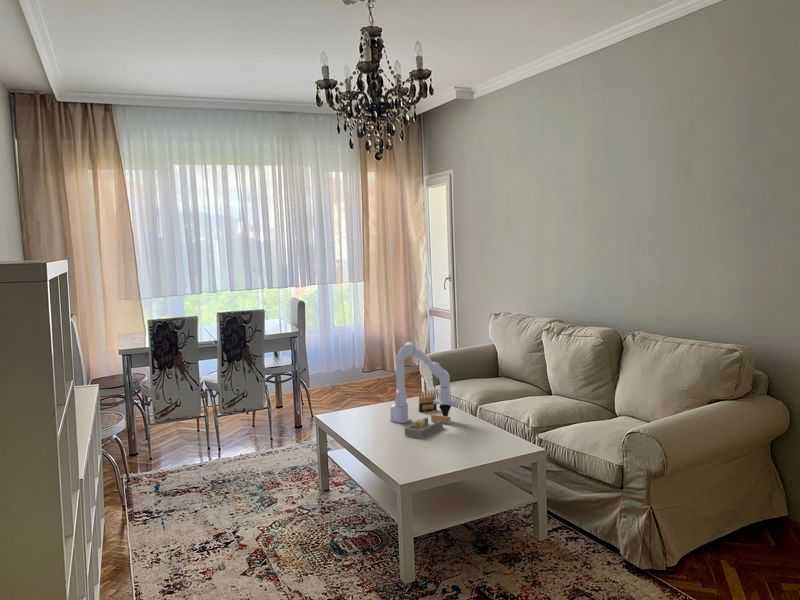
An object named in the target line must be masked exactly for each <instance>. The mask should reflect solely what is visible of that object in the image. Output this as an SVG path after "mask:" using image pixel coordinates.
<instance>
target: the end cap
mask: <svg viewBox="0 0 800 600" xmlns="http://www.w3.org/2000/svg"><path fill="white" fill-rule="evenodd" d="M430 416H431V417H430V419H431V421H430V422H434V423H436V422H438V421H440V420H443V424H448V425H451V424H452V421H451V416H448V417H447V416H443V415H441V414H431V415H430Z"/></svg>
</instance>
